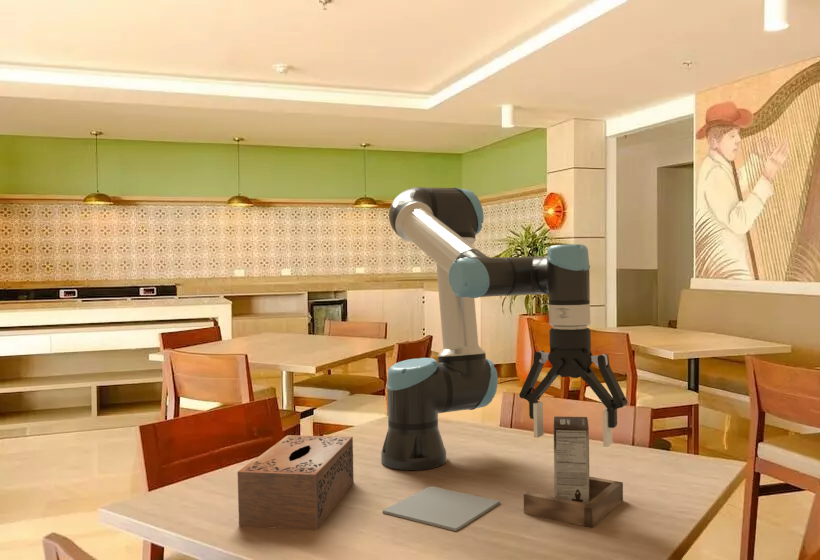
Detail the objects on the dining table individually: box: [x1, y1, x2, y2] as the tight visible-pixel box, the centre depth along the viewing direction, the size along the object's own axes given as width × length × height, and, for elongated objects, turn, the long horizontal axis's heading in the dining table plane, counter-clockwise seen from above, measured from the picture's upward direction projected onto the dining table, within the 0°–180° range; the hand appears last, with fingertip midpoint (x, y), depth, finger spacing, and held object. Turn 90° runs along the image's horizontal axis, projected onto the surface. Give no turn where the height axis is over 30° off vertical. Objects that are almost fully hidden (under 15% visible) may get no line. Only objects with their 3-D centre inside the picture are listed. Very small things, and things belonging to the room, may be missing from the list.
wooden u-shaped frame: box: [523, 476, 624, 528], centre depth 129 cm, size 13×16×4 cm
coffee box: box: [553, 416, 591, 503], centre depth 129 cm, size 9×6×16 cm
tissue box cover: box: [237, 434, 355, 531], centre depth 134 cm, size 26×14×10 cm, turn 170°
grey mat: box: [382, 486, 501, 532], centre depth 129 cm, size 16×16×1 cm
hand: (572, 440), depth 128 cm, fingers open, 13 cm apart
